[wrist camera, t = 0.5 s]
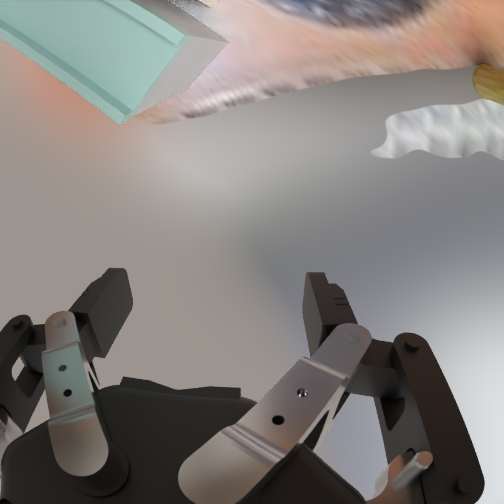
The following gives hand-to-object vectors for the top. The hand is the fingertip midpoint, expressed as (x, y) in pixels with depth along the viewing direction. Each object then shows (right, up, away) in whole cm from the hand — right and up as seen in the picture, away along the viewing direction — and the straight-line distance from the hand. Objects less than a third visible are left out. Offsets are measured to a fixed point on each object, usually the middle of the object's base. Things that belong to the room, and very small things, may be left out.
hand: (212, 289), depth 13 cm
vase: (+38, +28, +16) cm, 50 cm away
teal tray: (-15, +23, +3) cm, 28 cm away
